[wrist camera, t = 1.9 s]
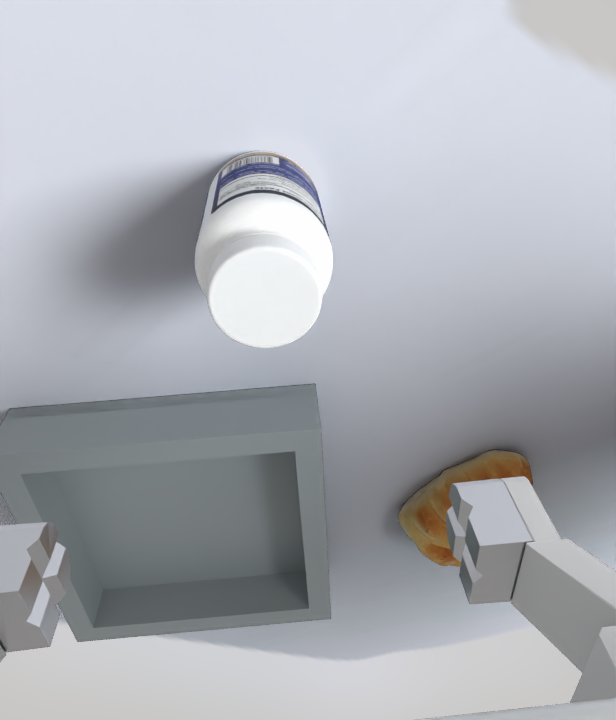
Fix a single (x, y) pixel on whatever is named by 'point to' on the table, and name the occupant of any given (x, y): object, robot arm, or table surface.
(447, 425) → the table surface
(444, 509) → the pastry
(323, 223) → the pill bottle
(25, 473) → the tray
